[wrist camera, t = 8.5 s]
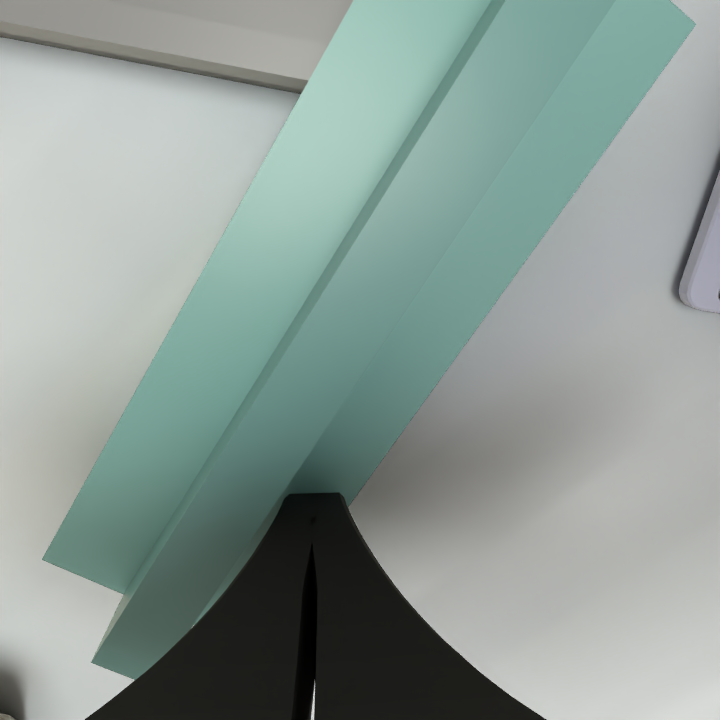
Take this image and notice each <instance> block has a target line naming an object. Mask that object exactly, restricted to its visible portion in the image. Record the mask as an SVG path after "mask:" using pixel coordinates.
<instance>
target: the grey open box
mask: <svg viewBox="0 0 720 720" xmlns="http://www.w3.org/2000/svg"><path fill="white" fill-rule="evenodd" d="M352 2H353V0H0V37H5V38H10V39H15V40H20V41H26V42H31V43H36V44H41V45H47V46H52V47H57V48H63V49H68V50H73V51H78V52H84V53H89V54H94V55H99V56H105V57H110V58H115V59H121V60H126V61H131V62H136V63H142V64H147V65H152V66H157V67H163V68H168V69H173V70H178V71H184V72H189V73H194V74H200V75H205V76H210V77H215V78H221V79H226V80H231V81H236V82H242V83H247V84H252V85H258V86H263V87H268V88H273V89H279V90H284V91H289V92H294V93H300V94H301V93H302V92H303V90H304V88H305V86H306V85H307V83H308V81H309V79H310V77H311V76H312V74H313V72H314V70H315V68H316V67H317V65H318V63H319V61H320V59H321V58H322V56H323V54H324V52H325V50H326V49H327V47H328V45H329V43H330V41H331V40H332V38H333V36H334V34H335V32H336V31H337V29H338V27H339V25H340V23H341V22H342V20H343V18H344V16H345V14H346V13H347V11H348V9H349V7H350V6H351V4H352Z"/></svg>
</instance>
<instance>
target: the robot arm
mask: <svg viewBox="0 0 720 720" xmlns="http://www.w3.org/2000/svg"><path fill="white" fill-rule="evenodd" d="M719 290H720V171H719V174H718V176H717V179H716V182H715V185H714V188H713V191H712V194H711V196H710V199H709V202H708V205H707V208H706V211H705V214H704V216H703V219H702V222H701V225H700V228H699V231H698V233H697V236H696V239H695V242H694V245H693V248H692V251H691V253H690V256H689V259H688V262H687V265H686V268H685V271H684V273H683V276H682V279H681V282H680V287H679V295H680V299H681V300H682V301H683V302H684V304H685V305H688V306H690V307H693V308H696V309H699V310H703V311H709V312H716V313H720V299H719V298H718V294H719ZM314 682H315V714H314V720H546V719H544V718H543V717H541V716H540V715H538V714H537V713H535V712H534V711H532V710H531V709H529V708H528V707H526V706H525V705H523V704H522V703H520V702H519V701H517V700H516V699H514V698H513V697H511V696H510V695H509V694H507V693H506V692H505V691H503V690H502V689H501V688H499V687H498V686H497V685H496V684H494V683H493V682H492V681H490V680H489V679H488V678H487V677H485V676H484V675H483V674H481V673H480V672H479V671H478V670H477V669H476V668H474V667H473V666H472V665H471V664H470V663H469V662H468V661H467V660H465V659H464V658H463V657H462V656H461V655H460V654H459V653H458V652H457V651H455V650H454V649H453V648H452V647H451V646H450V645H449V644H448V643H446V642H445V641H444V640H443V639H442V638H441V637H440V636H439V635H438V634H437V633H436V632H435V631H434V630H433V629H432V628H431V627H430V625H429V624H428V623H427V622H426V621H425V620H424V619H423V618H422V617H421V616H420V615H419V614H418V613H417V611H416V610H415V609H414V608H413V607H412V606H411V605H410V604H409V602H408V601H407V600H406V599H405V598H404V596H403V595H402V594H401V593H400V591H399V590H398V589H397V588H396V586H395V585H394V584H393V582H392V581H391V580H390V578H389V577H388V575H387V574H386V573H385V571H384V570H383V569H382V567H381V566H380V564H379V563H378V561H377V560H376V558H375V557H374V555H373V553H372V552H371V550H370V549H369V547H368V545H367V544H366V542H365V541H364V539H363V537H362V535H361V534H360V532H359V530H358V528H357V526H356V524H355V522H354V520H353V518H352V516H351V514H350V512H349V509H348V507H347V504H346V501H345V497H344V496H343V495H342V494H340V493H339V492H335V493H298V494H289V495H288V496H287V497H285V498H284V500H283V503H282V505H281V507H280V509H279V511H278V513H277V515H276V517H275V519H274V521H273V522H272V524H271V526H270V527H269V529H268V531H267V533H266V534H265V536H264V537H263V539H262V540H261V542H260V543H259V545H258V546H257V548H256V549H255V551H254V553H253V554H252V556H251V557H250V558H249V560H248V561H247V563H246V564H245V565H244V567H243V568H242V569H241V571H240V572H239V573H238V575H237V576H236V577H235V579H234V580H233V581H232V582H231V584H230V585H229V586H228V588H227V589H226V590H225V591H224V593H223V594H222V595H221V596H220V597H219V599H218V600H217V601H216V602H215V603H214V604H213V606H212V607H211V608H210V609H209V610H208V611H207V612H206V613H205V614H204V616H203V617H202V618H201V619H200V620H199V621H198V622H197V623H196V624H195V625H194V626H193V627H192V628H191V629H190V630H189V631H188V632H187V633H186V634H185V635H184V636H183V637H182V638H181V639H180V640H179V641H178V642H177V643H176V644H175V645H174V646H173V647H172V648H171V649H170V650H169V651H168V652H167V653H166V654H165V655H164V656H163V657H161V658H160V659H159V660H158V661H157V662H156V663H155V664H154V665H153V666H152V667H150V668H149V669H148V670H147V671H146V672H145V673H143V674H142V675H141V676H140V677H138V678H137V679H136V680H135V681H134V682H132V683H131V684H130V685H129V686H127V687H126V688H125V689H124V690H123V691H121V692H120V693H119V694H118V695H117V696H115V697H114V698H113V699H111V700H110V701H109V702H108V703H106V704H105V705H104V706H102V707H101V708H100V709H98V710H97V711H96V712H94V713H93V714H92V715H90V716H89V717H88V718H86V719H85V720H311V711H312V702H313V692H314Z"/></svg>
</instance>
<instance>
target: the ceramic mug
mask: <svg viewBox="0 0 720 720" xmlns="http://www.w3.org/2000/svg"><path fill="white" fill-rule="evenodd" d="M0 720H15V719H14V718H12V717H11V716H10V715H7V714H2V713H0Z"/></svg>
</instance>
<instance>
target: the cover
mask: <svg viewBox="0 0 720 720" xmlns="http://www.w3.org/2000/svg"><path fill="white" fill-rule="evenodd" d="M695 25H696V24H695V23H694V22H693V21H692V20H691V19H690V18H689V17H688V16H687V15H685V14H684V13H683V12H682V11H681V10H680V9H679V8H678V7H677V6H676V5H674V4H673V3H672V2H671V1H670V0H353V2H352V4H351V6H350V7H349V9H348V11H347V13H346V14H345V16H344V18H343V20H342V22H341V23H340V25H339V27H338V29H337V31H336V32H335V34H334V36H333V38H332V40H331V41H330V43H329V45H328V47H327V49H326V50H325V52H324V54H323V56H322V58H321V59H320V61H319V63H318V65H317V67H316V68H315V70H314V72H313V74H312V76H311V77H310V79H309V81H308V83H307V85H306V86H305V88H304V90H303V92H302V93H301V95H300V97H299V99H298V101H297V102H296V104H295V106H294V108H293V110H292V111H291V113H290V115H289V117H288V119H287V120H286V122H285V124H284V126H283V128H282V129H281V131H280V133H279V135H278V137H277V138H276V140H275V142H274V144H273V146H272V147H271V149H270V151H269V153H268V155H267V156H266V158H265V160H264V162H263V164H262V165H261V167H260V169H259V171H258V172H257V174H256V176H255V178H254V180H253V181H252V183H251V185H250V187H249V189H248V190H247V192H246V194H245V196H244V198H243V199H242V201H241V203H240V205H239V207H238V208H237V210H236V212H235V214H234V216H233V217H232V219H231V221H230V223H229V225H228V226H227V228H226V230H225V232H224V234H223V235H222V237H221V239H220V241H219V243H218V244H217V246H216V248H215V250H214V251H213V253H212V255H211V257H210V259H209V260H208V262H207V264H206V266H205V268H204V269H203V271H202V273H201V275H200V277H199V278H198V280H197V282H196V284H195V286H194V287H193V289H192V291H191V293H190V295H189V296H188V298H187V300H186V302H185V304H184V305H183V307H182V309H181V311H180V313H179V314H178V316H177V318H176V320H175V322H174V323H173V325H172V327H171V329H170V330H169V332H168V334H167V336H166V338H165V339H164V341H163V343H162V345H161V347H160V348H159V350H158V352H157V354H156V356H155V357H154V359H153V361H152V363H151V365H150V366H149V368H148V370H147V372H146V374H145V375H144V377H143V379H142V381H141V383H140V384H139V386H138V388H137V390H136V392H135V393H134V395H133V397H132V399H131V400H130V402H129V404H128V406H127V408H126V409H125V411H124V413H123V415H122V417H121V418H120V420H119V422H118V424H117V426H116V427H115V429H114V431H113V433H112V435H111V436H110V438H109V440H108V442H107V444H106V445H105V447H104V449H103V451H102V453H101V454H100V456H99V458H98V460H97V462H96V463H95V465H94V467H93V469H92V471H91V472H90V474H89V476H88V478H87V479H86V481H85V483H84V485H83V487H82V488H81V490H80V492H79V494H78V496H77V497H76V499H75V501H74V503H73V505H72V506H71V508H70V510H69V512H68V514H67V515H66V517H65V519H64V521H63V523H62V524H61V526H60V528H59V530H58V532H57V533H56V535H55V537H54V539H53V541H52V542H51V544H50V546H49V548H48V550H47V551H46V553H45V555H44V557H43V558H42V560H44V561H46V562H49V563H51V564H53V565H56V566H58V567H60V568H63V569H65V570H68V571H70V572H72V573H75V574H77V575H79V576H82V577H84V578H86V579H89V580H91V581H93V582H96V583H98V584H100V585H103V586H105V587H107V588H110V589H112V590H115V591H117V592H119V593H122V594H124V595H123V597H122V599H121V601H120V603H119V605H118V607H117V610H116V612H115V614H114V616H113V618H112V620H111V622H110V624H109V626H108V628H107V630H106V632H105V635H104V637H103V639H102V641H101V643H100V645H99V647H98V649H97V651H96V653H95V655H94V657H93V659H92V662H91V663H93V664H96V665H99V666H101V667H104V668H106V669H109V670H111V671H114V672H117V673H119V674H122V675H124V676H127V677H129V678H132V679H134V680H136V679H137V678H138V677H140V676H141V675H142V674H143V673H145V672H146V671H147V670H148V669H149V668H150V667H152V666H153V665H154V664H155V663H156V662H157V661H158V660H159V659H160V658H161V657H163V656H164V655H165V654H166V653H167V652H168V651H169V650H170V649H171V648H172V647H173V646H174V645H175V644H176V643H177V642H178V641H179V640H180V639H181V638H182V637H183V636H184V635H185V634H186V633H187V632H188V631H189V630H190V629H191V628H192V626H193V625H195V624H196V623H197V622H198V621H199V620H200V619H201V618H202V617H203V616H204V614H205V613H206V612H207V611H208V610H209V609H210V608H211V607H212V606H213V604H214V603H215V602H216V601H217V600H218V599H219V597H220V596H221V595H222V594H223V593H224V591H225V590H226V589H227V588H228V586H229V585H230V584H231V582H232V581H233V580H234V579H235V577H236V576H237V575H238V573H239V572H240V571H241V569H242V568H243V567H244V565H245V564H246V563H247V561H248V560H249V558H250V557H251V556H252V554H253V553H254V551H255V549H256V548H257V546H258V545H259V543H260V542H261V540H262V539H263V537H264V536H265V534H266V533H267V531H268V529H269V527H270V526H271V524H272V522H273V521H274V519H275V517H276V515H277V513H278V511H279V509H280V507H281V505H282V503H283V500H284V498H285V497H287V496H288V495H289V494H298V493H335V492H339V493H340V494H342V495H343V496H344V497H345V501H346V504H347V507H349V505H350V504H351V502H352V501H353V500H354V498H355V497H356V495H357V494H358V493H359V491H360V490H361V489H362V487H363V486H364V484H365V483H366V482H367V480H368V479H369V477H370V476H371V475H372V473H373V472H374V471H375V469H376V468H377V466H378V465H379V464H380V462H381V461H382V459H383V458H384V457H385V455H386V454H387V452H388V451H389V450H390V448H391V447H392V446H393V444H394V443H395V441H396V440H397V439H398V437H399V436H400V434H401V433H402V432H403V430H404V429H405V428H406V426H407V425H408V423H409V422H410V421H411V419H412V418H413V416H414V415H415V414H416V412H417V411H418V409H419V408H420V407H421V405H422V404H423V403H424V401H425V400H426V398H427V397H428V396H429V394H430V393H431V391H432V390H433V389H434V387H435V386H436V385H437V383H438V382H439V380H440V379H441V378H442V376H443V375H444V373H445V372H446V371H447V369H448V368H449V366H450V365H451V364H452V362H453V361H454V360H455V358H456V357H457V355H458V354H459V353H460V351H461V350H462V348H463V347H464V346H465V344H466V343H467V341H468V340H469V339H470V337H471V336H472V335H473V333H474V332H475V330H476V329H477V328H478V326H479V325H480V323H481V322H482V321H483V319H484V318H485V317H486V315H487V314H488V312H489V311H490V310H491V308H492V307H493V305H494V304H495V303H496V301H497V300H498V298H499V297H500V296H501V294H502V293H503V292H504V290H505V289H506V287H507V286H508V285H509V283H510V282H511V280H512V279H513V278H514V276H515V275H516V274H517V272H518V271H519V269H520V268H521V267H522V265H523V264H524V262H525V261H526V260H527V258H528V257H529V255H530V254H531V253H532V251H533V250H534V249H535V247H536V246H537V244H538V243H539V242H540V240H541V239H542V237H543V236H544V235H545V233H546V232H547V231H548V229H549V228H550V226H551V225H552V224H553V222H554V221H555V219H556V218H557V217H558V215H559V214H560V212H561V211H562V210H563V208H564V207H565V206H566V204H567V203H568V201H569V200H570V199H571V197H572V196H573V194H574V193H575V192H576V190H577V189H578V188H579V186H580V185H581V183H582V182H583V181H584V179H585V178H586V176H587V175H588V174H589V172H590V171H591V169H592V168H593V167H594V165H595V164H596V163H597V161H598V160H599V158H600V157H601V156H602V154H603V153H604V151H605V150H606V149H607V147H608V146H609V145H610V143H611V142H612V140H613V139H614V138H615V136H616V135H617V133H618V132H619V131H620V129H621V128H622V126H623V125H624V124H625V122H626V121H627V120H628V118H629V117H630V115H631V114H632V113H633V111H634V110H635V108H636V107H637V106H638V104H639V103H640V102H641V100H642V99H643V97H644V96H645V95H646V93H647V92H648V90H649V89H650V88H651V86H652V85H653V83H654V82H655V81H656V79H657V78H658V77H659V75H660V74H661V72H662V71H663V70H664V68H665V67H666V65H667V64H668V63H669V61H670V60H671V58H672V57H673V56H674V54H675V53H676V52H677V50H678V49H679V47H680V46H681V45H682V43H683V42H684V40H685V39H686V38H687V36H688V35H689V34H690V32H691V31H692V29H693V28H694V27H695Z"/></svg>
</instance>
